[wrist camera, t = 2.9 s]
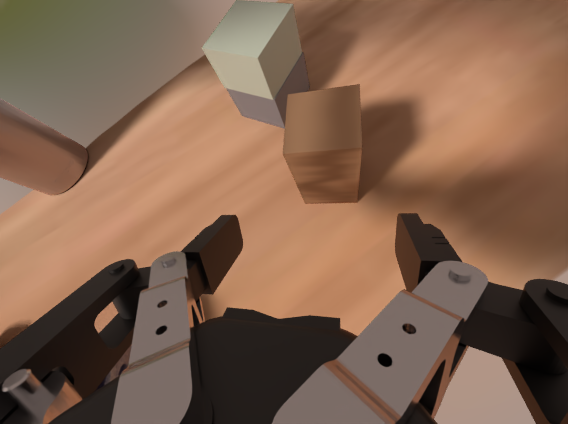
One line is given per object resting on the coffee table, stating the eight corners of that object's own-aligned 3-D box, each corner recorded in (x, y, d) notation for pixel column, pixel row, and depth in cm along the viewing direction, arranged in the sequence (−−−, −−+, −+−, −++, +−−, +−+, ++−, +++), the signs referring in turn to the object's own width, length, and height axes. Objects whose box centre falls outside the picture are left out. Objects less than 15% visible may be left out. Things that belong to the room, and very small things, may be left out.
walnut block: (305, 203, 27) (282, 153, 17) (307, 160, 28) (287, 94, 19) (357, 202, 25) (362, 147, 16) (355, 156, 27) (359, 84, 18)
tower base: (242, 116, 33) (225, 87, 29) (266, 78, 35) (254, 44, 30) (285, 129, 31) (274, 99, 26) (309, 87, 32) (303, 52, 28)
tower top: (224, 87, 29) (201, 48, 24) (253, 45, 30) (236, -1, 26) (273, 99, 26) (257, 58, 22) (302, 52, 28) (293, 3, 23)
